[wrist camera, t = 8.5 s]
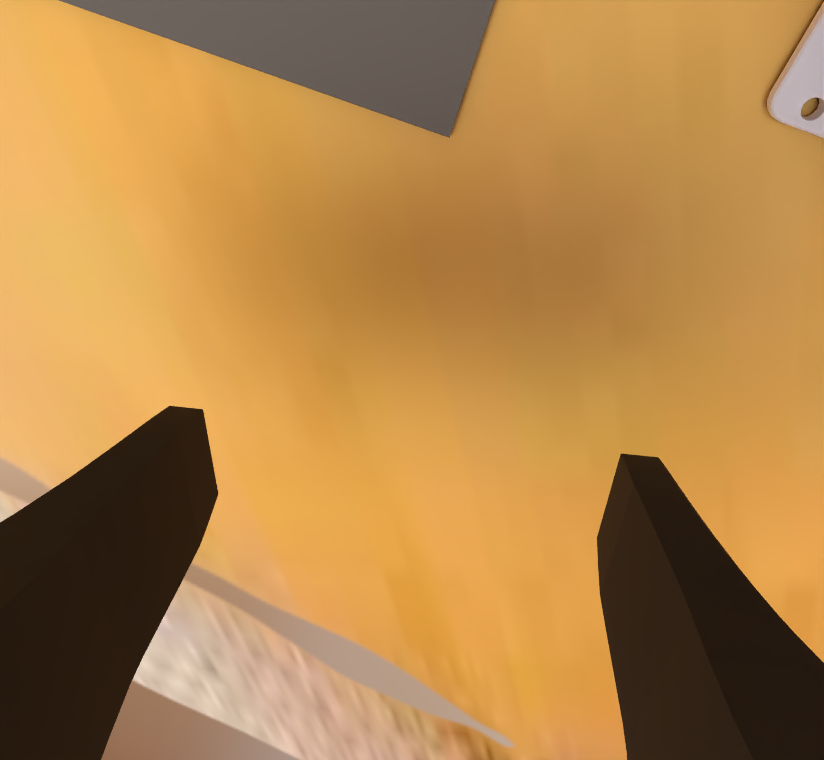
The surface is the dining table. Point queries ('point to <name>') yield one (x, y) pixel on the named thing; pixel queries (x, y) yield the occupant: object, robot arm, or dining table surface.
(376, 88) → the mat
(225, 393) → the dining table surface
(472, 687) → the dining table surface
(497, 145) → the dining table surface
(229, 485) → the dining table surface
